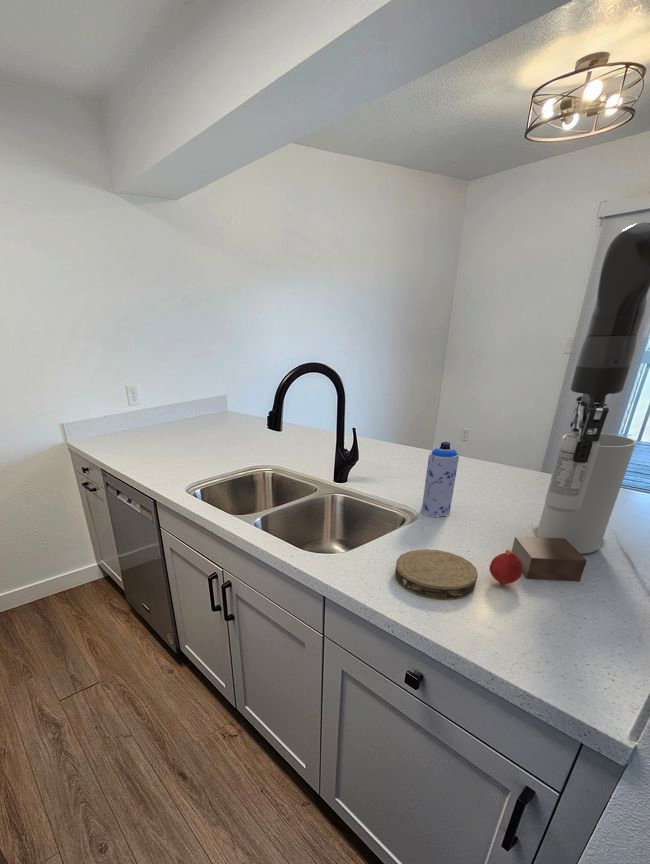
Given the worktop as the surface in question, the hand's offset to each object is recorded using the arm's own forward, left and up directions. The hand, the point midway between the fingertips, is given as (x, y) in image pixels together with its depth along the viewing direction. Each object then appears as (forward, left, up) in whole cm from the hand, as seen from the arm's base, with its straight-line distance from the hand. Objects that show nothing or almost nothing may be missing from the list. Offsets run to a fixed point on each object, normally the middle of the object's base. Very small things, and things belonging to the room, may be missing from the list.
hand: (576, 456), depth 83 cm
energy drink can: (0, 0, -11) cm, 11 cm away
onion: (+8, +10, -25) cm, 28 cm away
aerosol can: (+24, -25, -25) cm, 43 cm away
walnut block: (0, 0, -25) cm, 25 cm away
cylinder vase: (-6, -15, -25) cm, 30 cm away
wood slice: (+21, +13, -25) cm, 35 cm away
